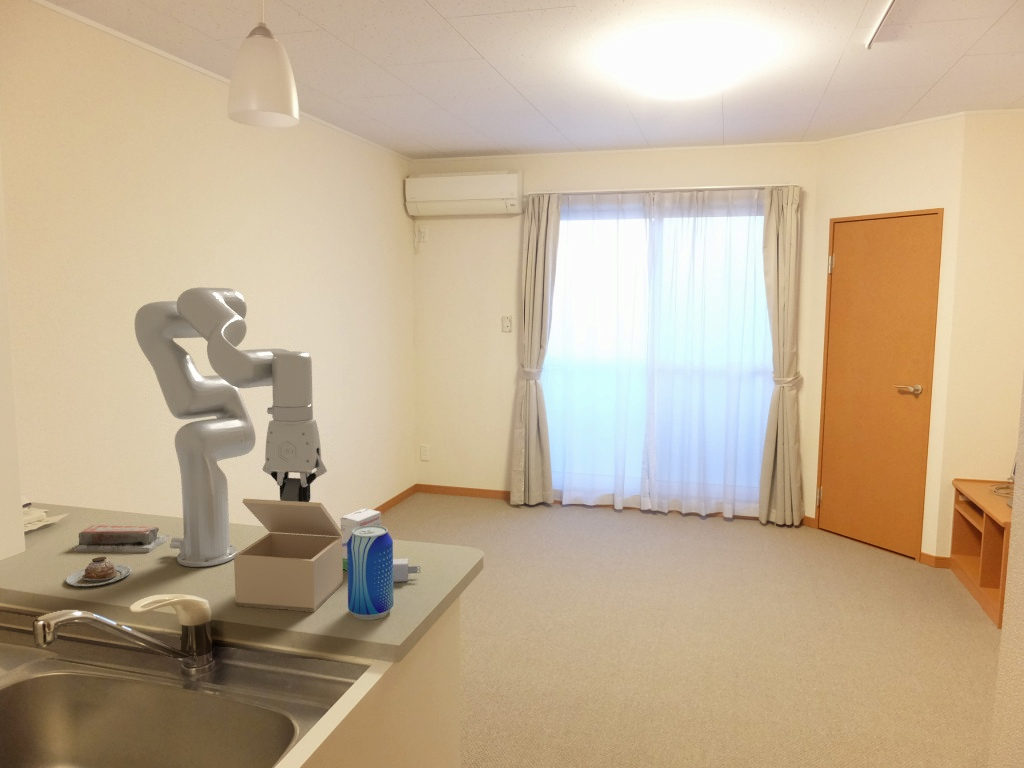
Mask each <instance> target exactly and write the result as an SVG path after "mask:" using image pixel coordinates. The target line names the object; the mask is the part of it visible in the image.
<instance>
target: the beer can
mask: <svg viewBox="0 0 1024 768" xmlns="http://www.w3.org/2000/svg"><path fill="white" fill-rule="evenodd" d="M388 531H389V529H388V528H387V526H383V525H381V526H380V525H365V526H360V527H357V528H355V529H353V530H352V535H351V537H350V539H349V540H348V542H347V570H346V571H347V609H348V611H349V612H350V613H351V615H352V616H353V617H354V618H356V619H357V620H362V621H374V620H378V619H379V620H380V619H382V618H384V617H387V616H388V615H389V614H390V611H391V610H392V608H393V607H394V582H393V559H394V541H393V539H392V537H391V535H390V534H389V532H388Z"/></svg>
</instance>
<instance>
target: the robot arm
mask: <svg viewBox="0 0 1024 768" xmlns="http://www.w3.org/2000/svg"><path fill="white" fill-rule="evenodd" d="M246 316H247V302H246V299H244V296H243V295H242V294H241V293H240V292H239V291H237V290H235V289H233V288H227V287H226V288H225V287H192V288H189V289H186V290H185V291H184V290H183V292H182V293H181V294H180V295H178V297H177V300H176V301H175V300H173V301H172V300H169V301H167V300H165V301H154V302H148V303H146V304H144V305H142V306H141V307H139V309H138V310H137V311H136V314H135V317H134V333H135V337H136V342H137V344H138V346H139V348H140V349H141V352H142V353H143V354H144V356H145V358H146V359H147V361H148V362H149V363H150V365H151V367H152V369H153V372H154V374H155V375H156V376H155V377H156V378H157V379H156V380H157V381H158V384H159V387H160V390H161V392H162V395H163V398H164V400H165V403H166V406H167V408H168V410H169V412H170V413H171V415H172V416H173V417H174V418H176V419H178V420H195V419H200V420H195V421H192V422H191V421H190V422H189V423H186V424H184V425H182V426H180V428H179V429H178V430H177V431H176V433H175V436H174V448H175V452H176V457H177V460H178V465H179V470H180V480H181V498H182V501H181V502H182V521H183V525H182V527H183V537H178V536H174V537H172V538H171V541H170V544H169V548H170V549H179V553H178V555H177V557H176V559H177V563H178V564H179V565H181V566H185V567H189V568H190V567H191V568H204V567H212V566H217V565H221V564H222V565H223V564H225V563H228V562H230V561H232V560H234V555H236V554H238V548H237V547H236V546H234V545H232V544H231V543H230V541H231V540H230V517H229V514H230V513H229V491H228V490H229V488H228V487H229V486H228V484H229V483H228V479H227V476H226V474H225V473H224V471H223V470H222V469H221V468H220V466H219V464H218V461H222V460H228V459H232V458H238V457H242V456H245V455H247V454H249V453H251V452H252V451H253V449H254V447H255V445H256V439H257V438H256V431H255V428H254V425H253V422H252V419H251V417H250V414H249V411H248V410H247V409H248V408H247V407H246V404H245V402H244V401H245V400H244V399H243V397H242V394H241V391H240V390H239V389H252V388H259V387H271V388H272V406H271V407H270V406H269V407H267V410H266V413H267V414H268V415H271V416H272V420H269V421H268V427H267V431H266V439H265V454H264V455H265V456H264V457H265V458H264V459H265V461H264V465H263V467H262V471H263V472H264V473H265V474H267V475H270V476H271V478H272V479H274V481H275V482H276V484H277V486H279V501H280V500H281V497H282V494H283V490H284V487H285V484H286V481H287V478H290V473H296V474H297V473H299V476H300V477H299V478H300V479H301V487H299V502H311V484H312V483H313V482H314V481H316V479H317V478H318V477H321V476H322V475H324V474H326V473H327V472H328V470H327V468H326V466H325V464H324V462H323V460H322V451H321V450H322V449H321V439H320V434H319V427H318V424H317V421H316V419H314V410H313V409H314V407H313V406H314V405H313V365H312V363H313V362H312V357H311V355H310V354H309V353H308V352H305V351H297V350H296V351H291V350H289V349H288V350H287V349H284V348H259V349H258V348H257V349H255V348H254V349H242V350H240V349H239V348H237V347H238V346H239V345H240V344H241V343H242V342H243V341H244V339H245V337H246V334H247V324H246V321H245V319H246ZM195 338H201V339H202V338H203V339H204V340H205V341H206V342H207V345H206V352H207V353H206V354H207V358H208V362H209V365H210V367H211V368H212V370H213V371H214V373H216V375H201V373H199V371H198V369H197V367H196V364H195V361H194V359H193V357H192V356H191V354H190V353H188V351H186V349H185V348H183V347H182V346H181V345H180V344H179V343H177V342H175V340H174V339H195ZM210 417H216V418H210ZM203 418H206V419H203ZM207 418H208V419H207ZM201 419H202V420H201ZM314 469H315V470H316V471H313V470H314Z"/></svg>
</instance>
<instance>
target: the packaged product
mask: <svg viewBox="0 0 1024 768" xmlns="http://www.w3.org/2000/svg"><path fill="white" fill-rule="evenodd" d="M159 530H160V529H159V527H158V526H140V525H138V526H137V525H136V526H133V525H106V524H103V525H101V524H100V525H99V524H96V525H93V524H92V525H91V526H89V527H87V528H85V529H83V530H82V531H79V533H78V545H75V546H74V548H73V552H75V553H76V552H79V553H81V552H82V553H85V552H86V553H87V552H89V553H151V552H153V551H154V550H155V549H156V548H158V547H160V546H161V545H163V544H164V543H166V542H167V541H169V539H170V535H158V532H159Z"/></svg>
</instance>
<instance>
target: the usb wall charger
mask: <svg viewBox="0 0 1024 768" xmlns="http://www.w3.org/2000/svg"><path fill="white" fill-rule="evenodd" d="M420 573H421V566H420V565H419V566H418V565H410V566H409V558H393V583H402V582H403V583H407V582H409V575H410V574H420Z"/></svg>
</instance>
